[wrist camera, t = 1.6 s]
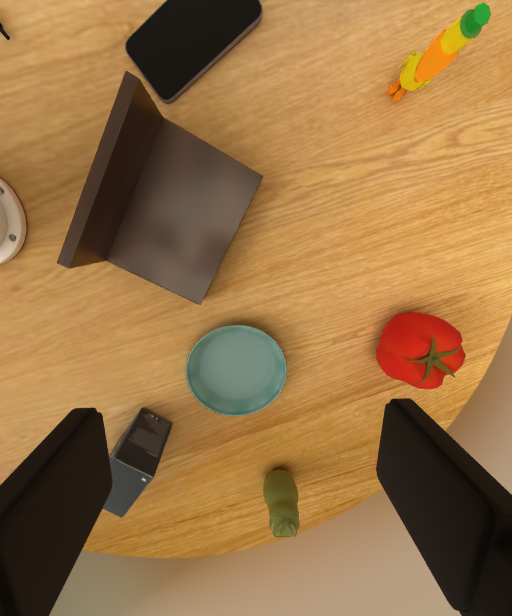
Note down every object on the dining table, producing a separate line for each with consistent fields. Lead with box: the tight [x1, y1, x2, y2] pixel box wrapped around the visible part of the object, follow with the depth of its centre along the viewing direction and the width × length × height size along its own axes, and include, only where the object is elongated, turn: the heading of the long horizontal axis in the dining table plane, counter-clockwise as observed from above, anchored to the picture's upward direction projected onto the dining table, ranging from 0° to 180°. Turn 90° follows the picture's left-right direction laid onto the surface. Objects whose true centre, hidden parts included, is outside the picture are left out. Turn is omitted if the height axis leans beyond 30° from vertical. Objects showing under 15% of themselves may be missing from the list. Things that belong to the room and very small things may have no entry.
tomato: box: [376, 312, 466, 389], centre depth 40 cm, size 11×11×9 cm
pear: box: [263, 469, 299, 537], centre depth 44 cm, size 6×5×10 cm
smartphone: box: [125, 0, 262, 103], centre depth 31 cm, size 7×1×15 cm
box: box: [102, 408, 172, 517], centre depth 40 cm, size 8×6×11 cm
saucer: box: [186, 325, 287, 416], centre depth 42 cm, size 15×15×3 cm
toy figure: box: [387, 3, 491, 103], centre depth 29 cm, size 7×4×12 cm, turn 137°
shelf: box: [57, 71, 263, 305], centre depth 31 cm, size 14×18×11 cm
